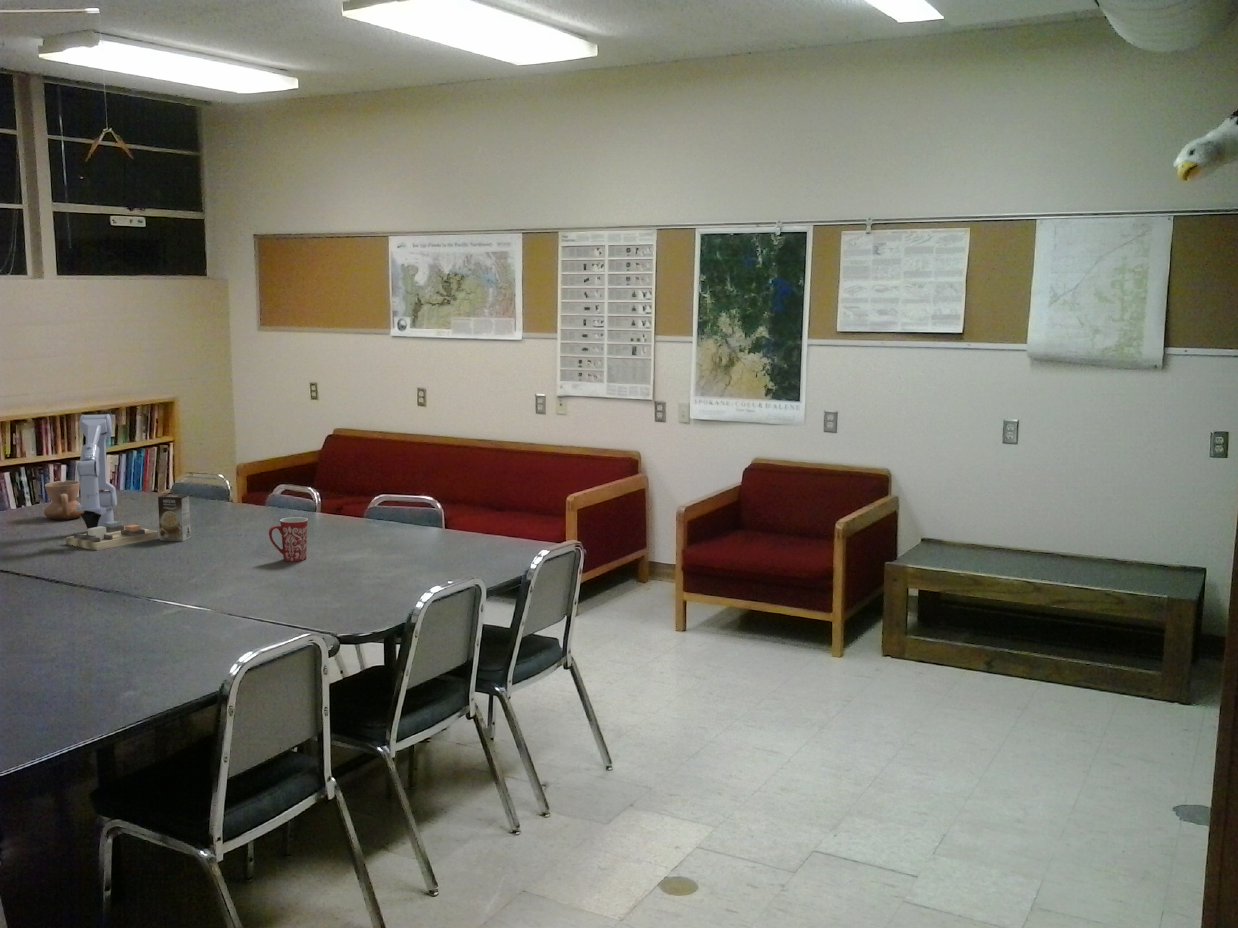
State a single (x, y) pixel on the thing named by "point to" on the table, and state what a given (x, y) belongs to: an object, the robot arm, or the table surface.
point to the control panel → (111, 538)
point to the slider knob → (97, 532)
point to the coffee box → (174, 517)
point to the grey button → (112, 524)
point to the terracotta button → (132, 527)
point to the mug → (292, 538)
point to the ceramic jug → (62, 500)
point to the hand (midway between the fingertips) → (92, 532)
